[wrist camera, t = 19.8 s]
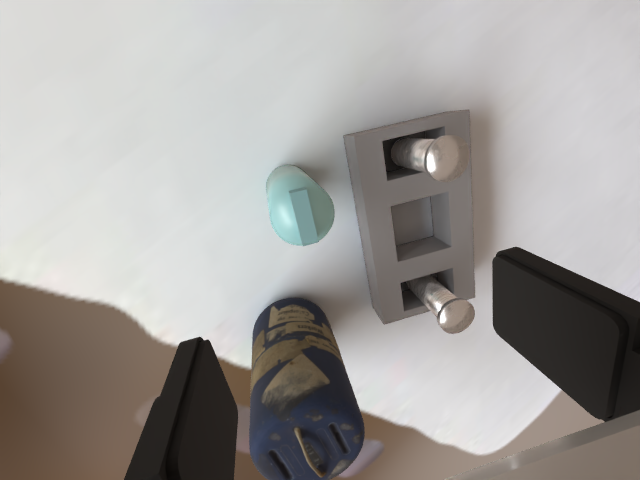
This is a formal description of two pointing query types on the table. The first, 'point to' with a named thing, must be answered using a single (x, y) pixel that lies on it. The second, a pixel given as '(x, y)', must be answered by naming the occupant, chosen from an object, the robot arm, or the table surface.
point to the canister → (300, 396)
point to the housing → (400, 187)
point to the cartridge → (298, 206)
